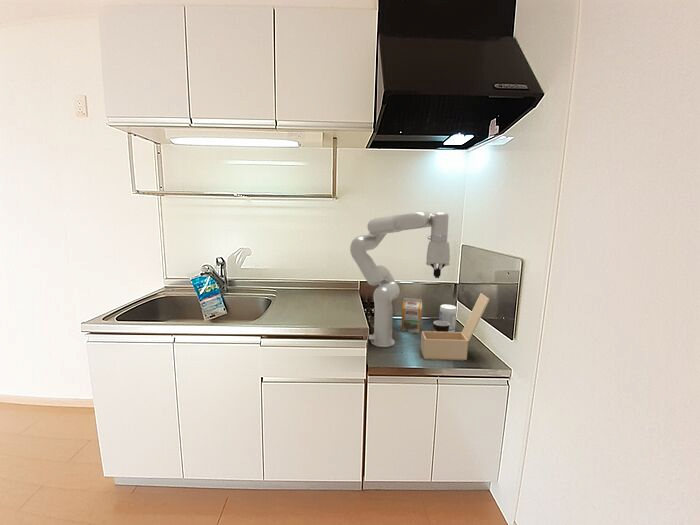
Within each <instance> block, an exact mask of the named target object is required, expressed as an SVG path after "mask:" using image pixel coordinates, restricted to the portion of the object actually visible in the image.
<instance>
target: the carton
mask: <svg viewBox="0 0 700 525" xmlns="http://www.w3.org/2000/svg"><path fill="white" fill-rule="evenodd" d="M420 334H421V339H420V352H421V354H422V357H423V359H424V360H434V361H435V360H438V361H464V360H465V361H467V360H468V347H469V341H468V340H467V339H466V337H465V336H464V335H463V333H462V331H454V332H434V330H433V331H431V330H429V331H427V330H425V331H424V330H421V333H420Z"/></svg>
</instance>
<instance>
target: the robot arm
mask: <svg viewBox="0 0 700 525" xmlns="http://www.w3.org/2000/svg"><path fill="white" fill-rule="evenodd" d="M449 217H450V216H449V214H448V213H447V212H442V211H441V212H438V211H436V212H431V211H417V212H409V213H404V214H393V215H388V216H382V217H381V216H380V217H376V218H373V219H370V220H369V221H368V223H367V225H366V226H367V227H366V228H367V230H368V233H367V234H362V235H358V236H356V237H354V238H353V240H352V241H351V243H350V248H349V250H350V251H349V252H350V255H351V257H352V259H353V261H355V263H356V265H357V266H358V269H359V270H360V273H361V274H362V275H363V277H364V279H365V280H366V283H367V284H369V285H370V286H377V285H378V287H377V288H375V290H374V291H373V297H372V298H373V302H374V324H373V325H374V330H373V334H368V335H369V340H368V341H370V342H371V343H370V344H372V345H373V346H376V347H378V348H389V347H392V346H394V345H395V344H396V341H395V340H394V338H393V315H394V314H393V313H394V312H393V310H394V309H393V304H392V302H393V301H395V299H396V298H398V297H399V296H400V292H401V291H400V290H401V289H400V287H399V285H398V283H397V282H396V280H395V278H394V277H393V275H392V273H391V271H390V270H389V269H388V268H387V267H386V266H385V265H377V264H376V263H375V261H374V259H373V258H372V257H371V256H370V255H369V253H368V252H367V251H372V250H374V249H375V248H377V247H378V246H379V244H380V243H381V242H382V241H383V240H384V238H385V237H386V235H387V234H392V233H393V234H394V233H399V232H402V231H409V230H416V229H423V228H430V236H427V240H430V241H429V242H428V245H427V252H426V262H425V265H426V266H430V267H432V269H433V277H434V278H436V279H440V276H441V275H442V274H441V273H442V272H441V271H442V270H443V268H445V267H447V266H450V260H451V256H450V255H451V251H450V249H451V248H450V242H449V241H448V232H449V229H448V228H449ZM437 264H438V266H437Z"/></svg>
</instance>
